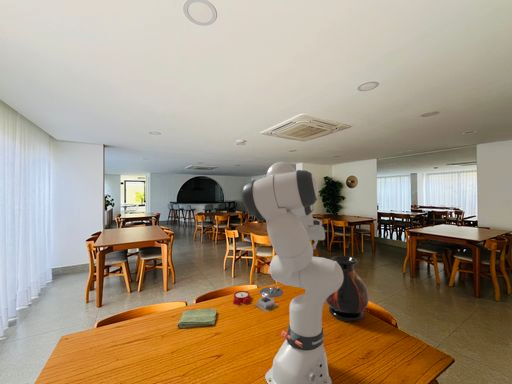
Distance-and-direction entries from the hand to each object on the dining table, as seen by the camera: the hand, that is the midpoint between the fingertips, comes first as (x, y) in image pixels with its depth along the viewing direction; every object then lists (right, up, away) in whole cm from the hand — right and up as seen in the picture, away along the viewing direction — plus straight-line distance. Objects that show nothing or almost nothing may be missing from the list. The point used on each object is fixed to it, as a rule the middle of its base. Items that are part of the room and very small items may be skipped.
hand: (304, 248), depth 106 cm
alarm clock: (-32, -36, +17) cm, 51 cm away
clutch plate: (-19, -34, +10) cm, 40 cm away
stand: (-19, -35, +10) cm, 41 cm away
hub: (-14, -36, +27) cm, 47 cm away
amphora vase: (+22, -34, +3) cm, 41 cm away
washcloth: (-53, -36, 0) cm, 64 cm away
